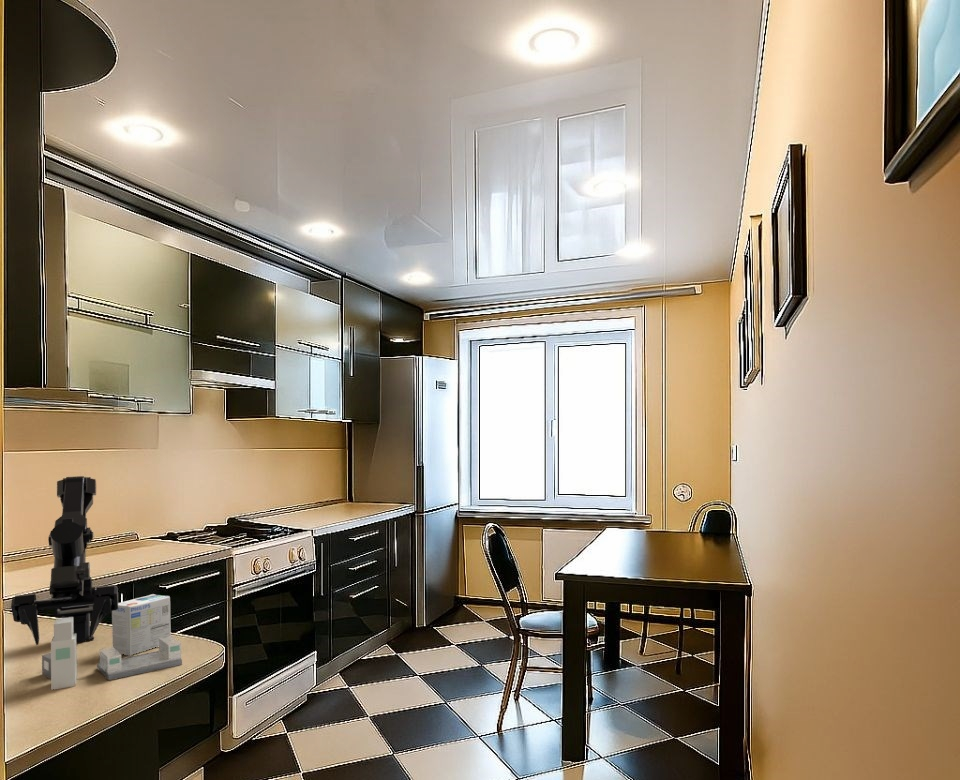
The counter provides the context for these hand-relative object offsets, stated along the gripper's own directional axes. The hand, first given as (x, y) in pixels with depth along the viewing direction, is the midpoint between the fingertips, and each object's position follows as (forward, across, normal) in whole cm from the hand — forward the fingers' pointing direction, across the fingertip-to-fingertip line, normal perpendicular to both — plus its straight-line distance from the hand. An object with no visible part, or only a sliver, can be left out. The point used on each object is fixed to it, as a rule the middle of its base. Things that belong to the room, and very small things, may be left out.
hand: (64, 639), depth 146 cm
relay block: (+1, -2, +11) cm, 11 cm away
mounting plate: (+3, +13, +9) cm, 16 cm away
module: (+6, 0, +6) cm, 8 cm away
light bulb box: (-7, +14, +19) cm, 25 cm away
